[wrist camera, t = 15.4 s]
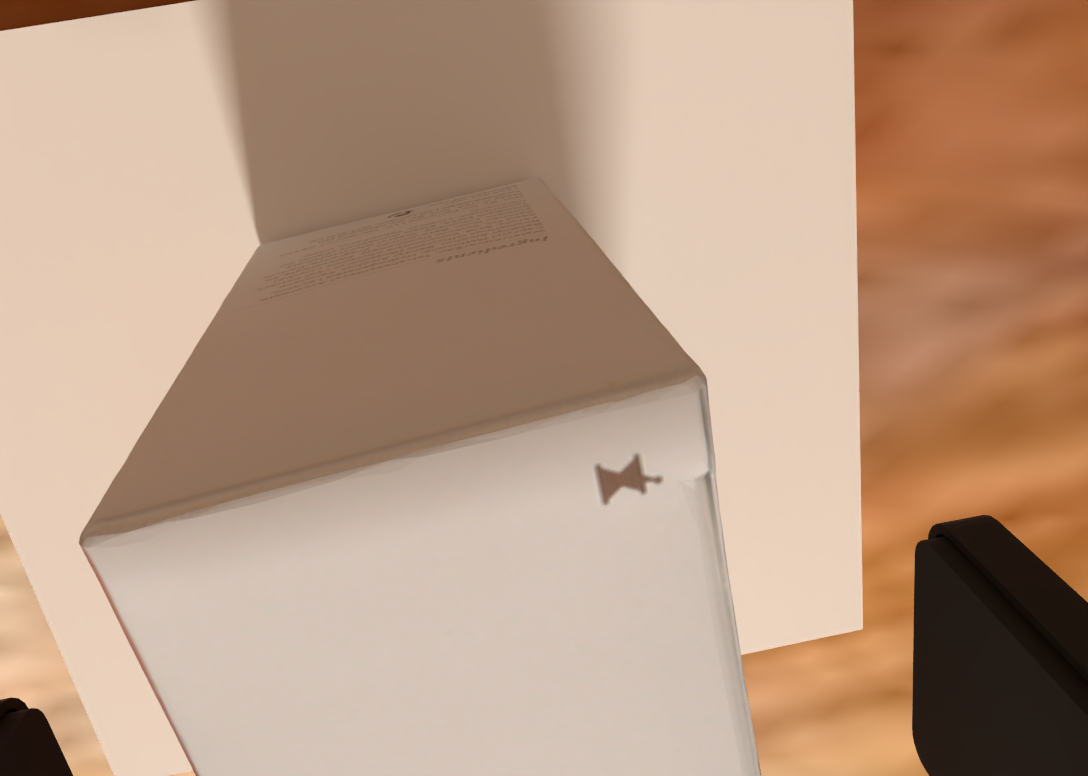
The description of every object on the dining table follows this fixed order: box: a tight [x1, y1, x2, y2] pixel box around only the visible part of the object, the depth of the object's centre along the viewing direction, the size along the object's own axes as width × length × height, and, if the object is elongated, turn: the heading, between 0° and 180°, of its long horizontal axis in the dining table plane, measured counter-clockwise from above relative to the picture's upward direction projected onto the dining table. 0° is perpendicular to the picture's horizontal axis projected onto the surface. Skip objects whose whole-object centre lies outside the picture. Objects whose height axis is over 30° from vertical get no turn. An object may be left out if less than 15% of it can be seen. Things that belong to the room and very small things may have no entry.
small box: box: [79, 177, 761, 776], centre depth 14 cm, size 8×6×10 cm
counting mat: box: [0, 0, 863, 776], centre depth 19 cm, size 18×16×1 cm
